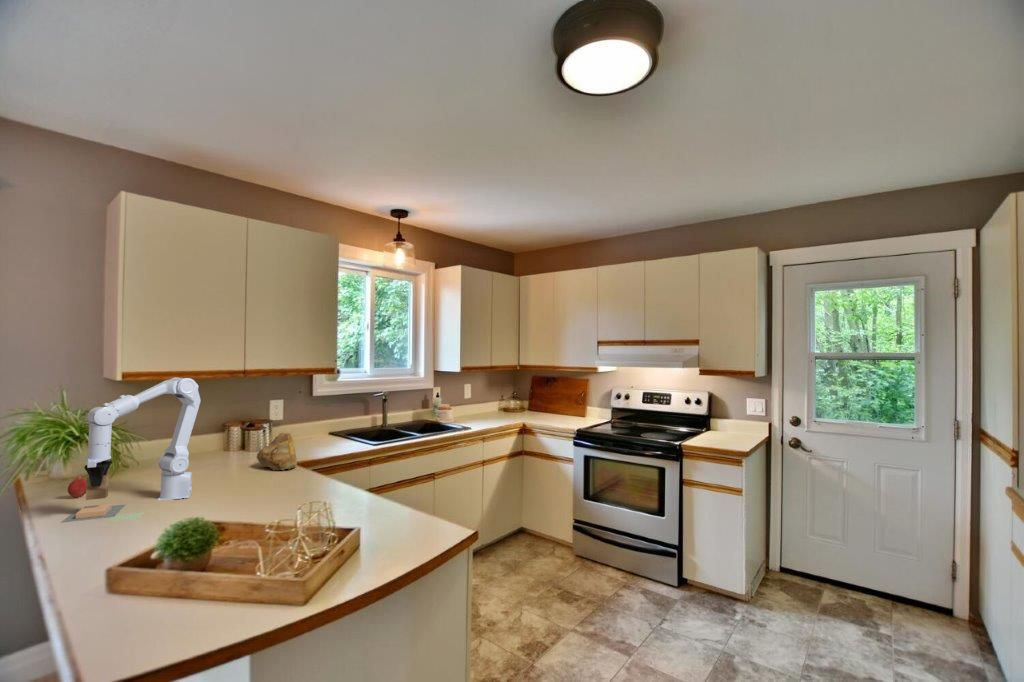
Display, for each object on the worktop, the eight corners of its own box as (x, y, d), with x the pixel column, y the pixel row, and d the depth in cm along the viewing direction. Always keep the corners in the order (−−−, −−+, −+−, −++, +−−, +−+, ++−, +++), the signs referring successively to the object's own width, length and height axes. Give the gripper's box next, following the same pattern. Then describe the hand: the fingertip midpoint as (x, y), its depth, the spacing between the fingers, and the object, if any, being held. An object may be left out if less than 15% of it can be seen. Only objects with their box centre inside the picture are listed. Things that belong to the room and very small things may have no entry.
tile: (111, 503, 159) (104, 510, 152) (111, 508, 159) (104, 516, 152) (84, 506, 156) (75, 513, 149) (84, 511, 156) (75, 519, 149)
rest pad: (144, 513, 157) (144, 511, 157) (139, 519, 150) (139, 518, 150) (113, 516, 153) (113, 515, 153) (107, 523, 147) (107, 521, 147)
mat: (125, 505, 164) (125, 504, 164) (113, 518, 152) (113, 516, 152) (77, 510, 158) (77, 509, 158) (60, 523, 146) (60, 522, 146)
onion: (63, 501, 168) (64, 478, 168) (73, 496, 173) (74, 474, 173) (82, 500, 169) (84, 477, 169) (92, 495, 175) (93, 473, 175)
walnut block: (107, 496, 158) (108, 474, 158) (105, 498, 155) (106, 476, 156) (88, 497, 155) (89, 476, 156) (85, 500, 153) (86, 478, 153)
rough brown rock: (257, 465, 230) (255, 434, 230) (294, 459, 238) (293, 430, 238) (257, 477, 210) (255, 444, 209) (298, 471, 218) (296, 438, 217)
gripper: (91, 440, 161) (89, 480, 160) (75, 448, 148) (73, 492, 147) (117, 439, 164) (116, 478, 163) (104, 446, 151) (102, 489, 150)
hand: (97, 485), depth 156 cm, fingers closed on walnut block, 3 cm apart
